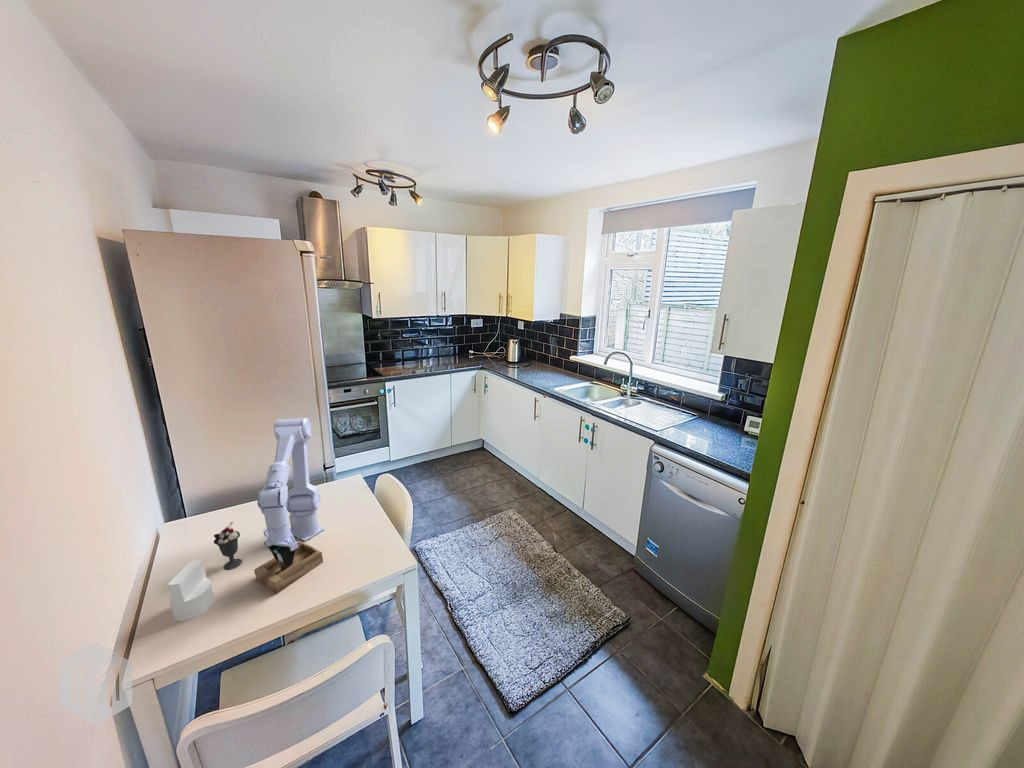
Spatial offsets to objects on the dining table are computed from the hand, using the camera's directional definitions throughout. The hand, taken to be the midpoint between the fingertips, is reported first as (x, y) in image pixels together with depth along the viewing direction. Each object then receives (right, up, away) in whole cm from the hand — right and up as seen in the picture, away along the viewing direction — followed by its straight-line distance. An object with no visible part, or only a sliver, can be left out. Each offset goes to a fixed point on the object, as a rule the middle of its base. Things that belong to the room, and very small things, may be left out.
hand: (284, 561), depth 117 cm
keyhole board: (+1, -4, +2) cm, 5 cm away
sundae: (-20, -3, +5) cm, 21 cm away
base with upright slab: (-19, -8, -11) cm, 23 cm away
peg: (+1, -2, 0) cm, 2 cm away
